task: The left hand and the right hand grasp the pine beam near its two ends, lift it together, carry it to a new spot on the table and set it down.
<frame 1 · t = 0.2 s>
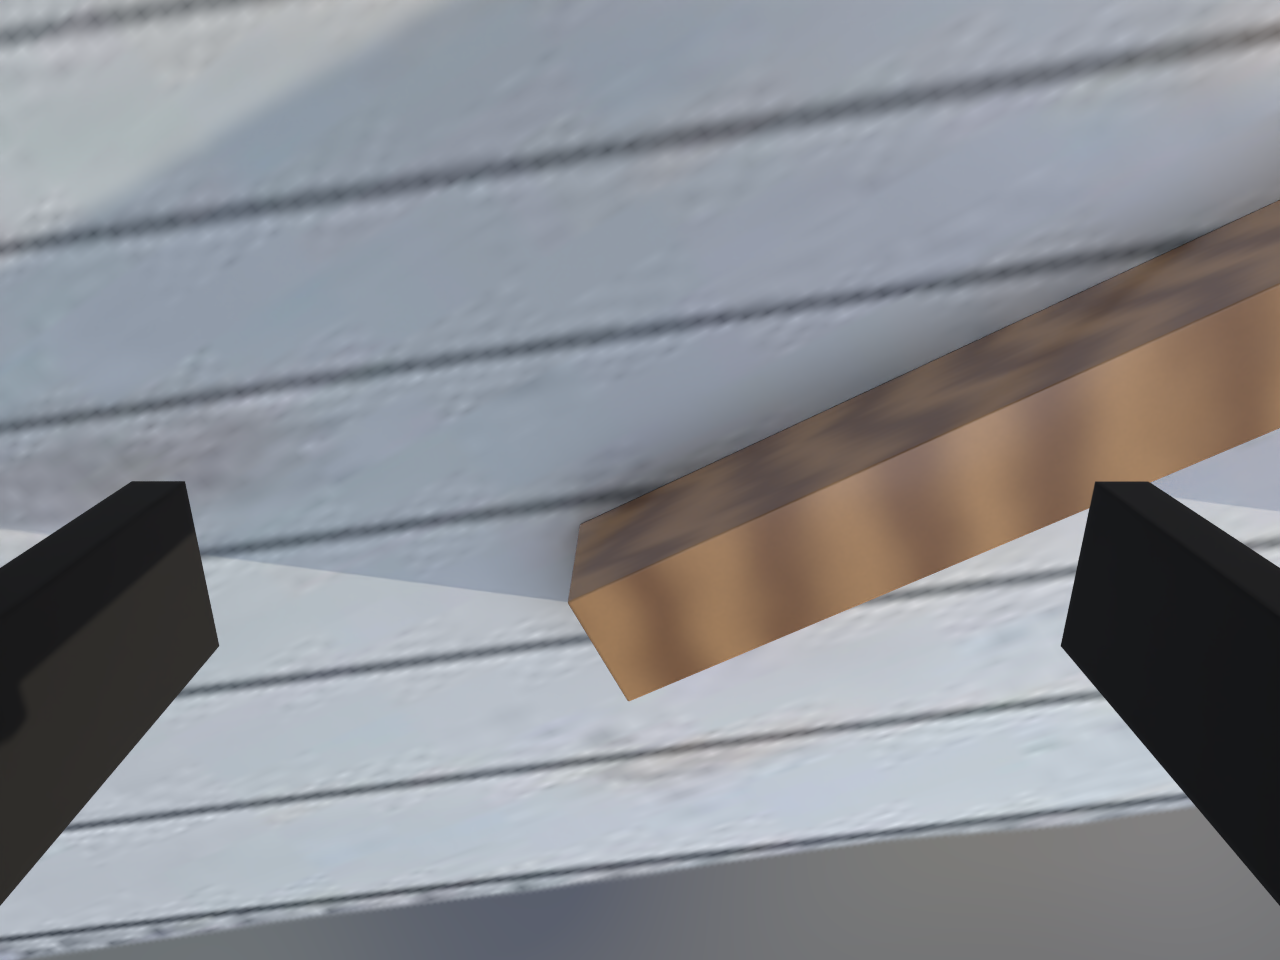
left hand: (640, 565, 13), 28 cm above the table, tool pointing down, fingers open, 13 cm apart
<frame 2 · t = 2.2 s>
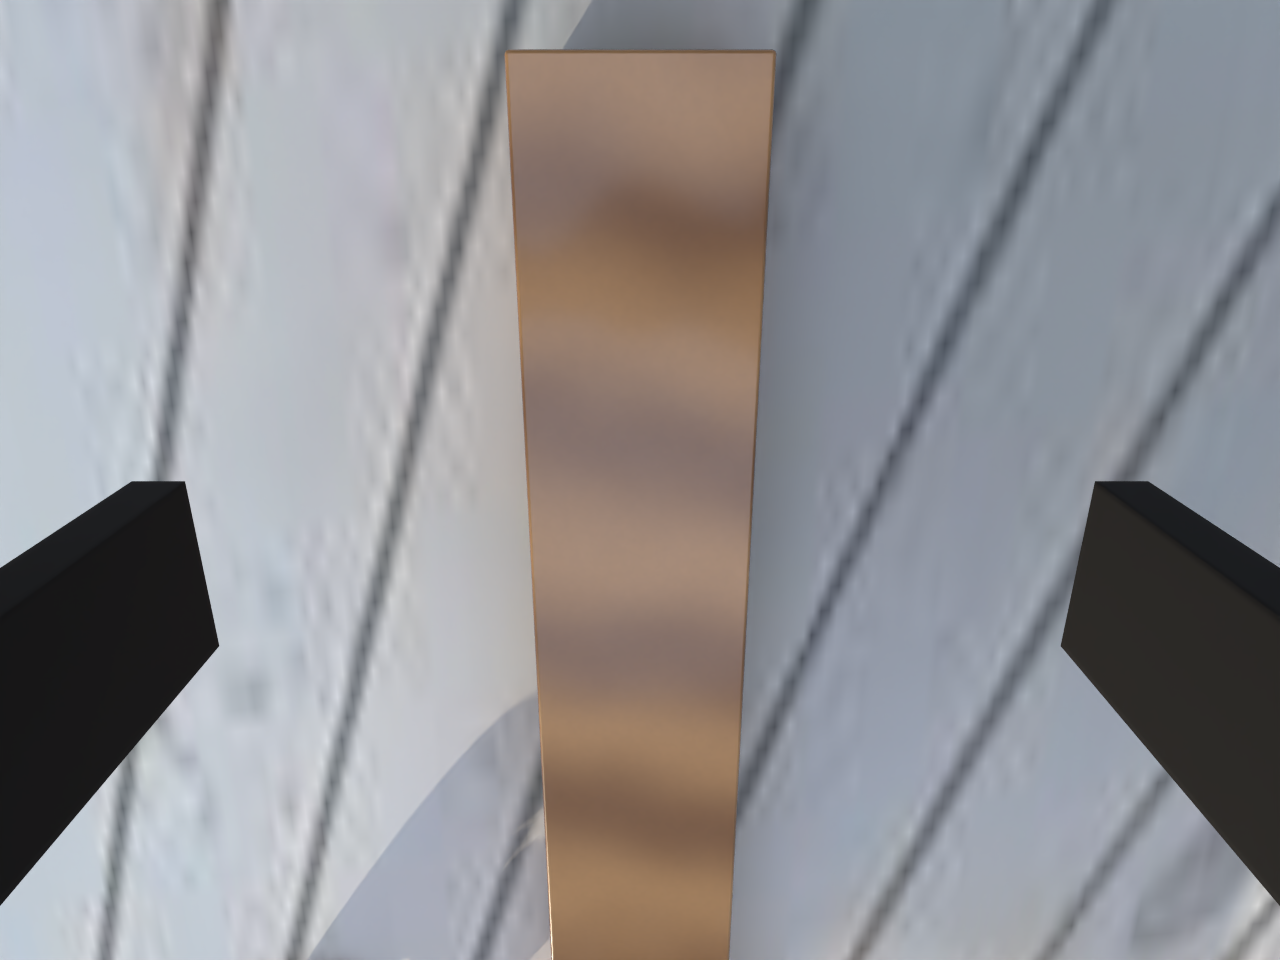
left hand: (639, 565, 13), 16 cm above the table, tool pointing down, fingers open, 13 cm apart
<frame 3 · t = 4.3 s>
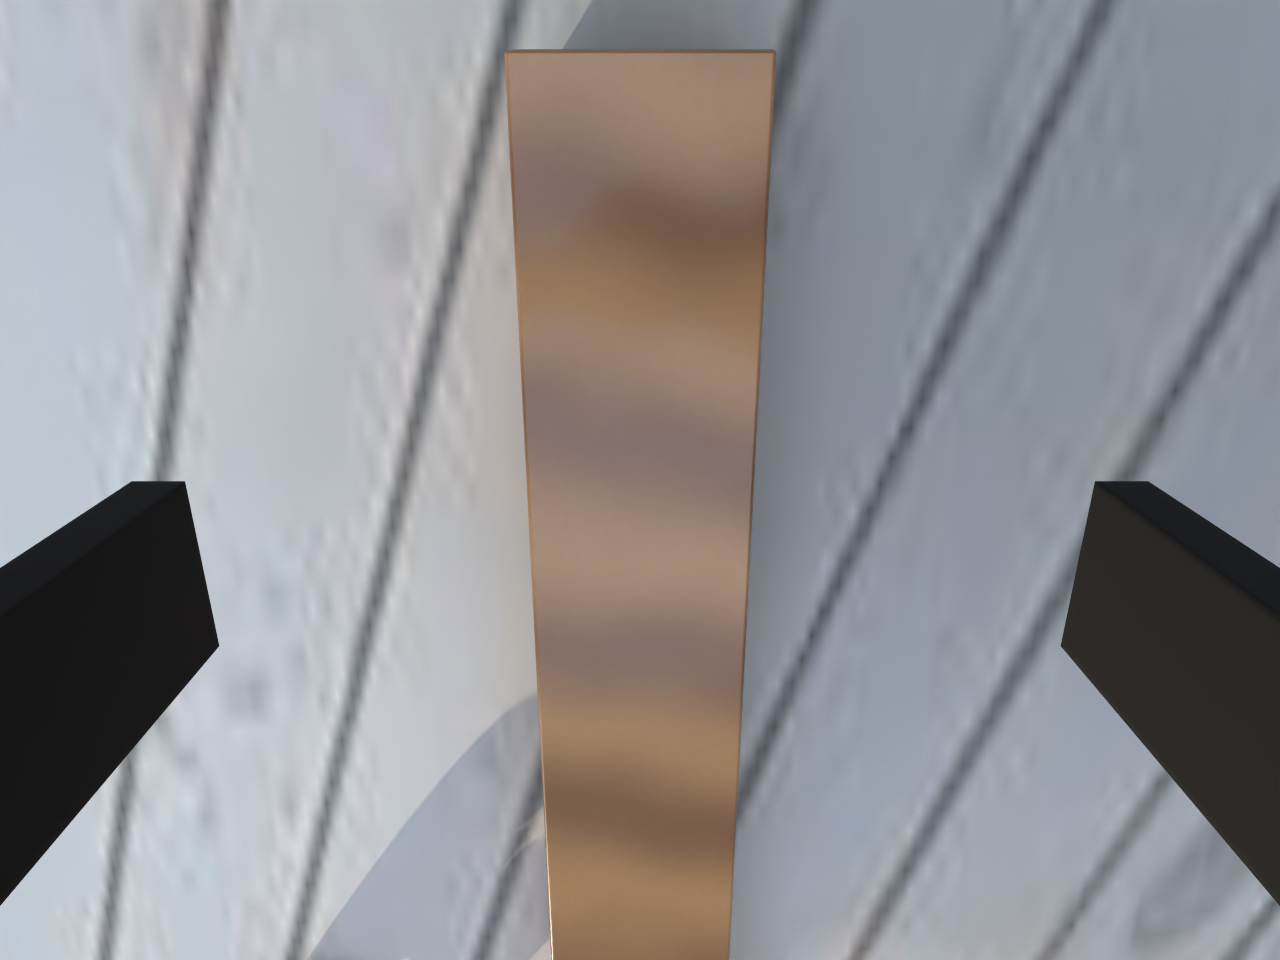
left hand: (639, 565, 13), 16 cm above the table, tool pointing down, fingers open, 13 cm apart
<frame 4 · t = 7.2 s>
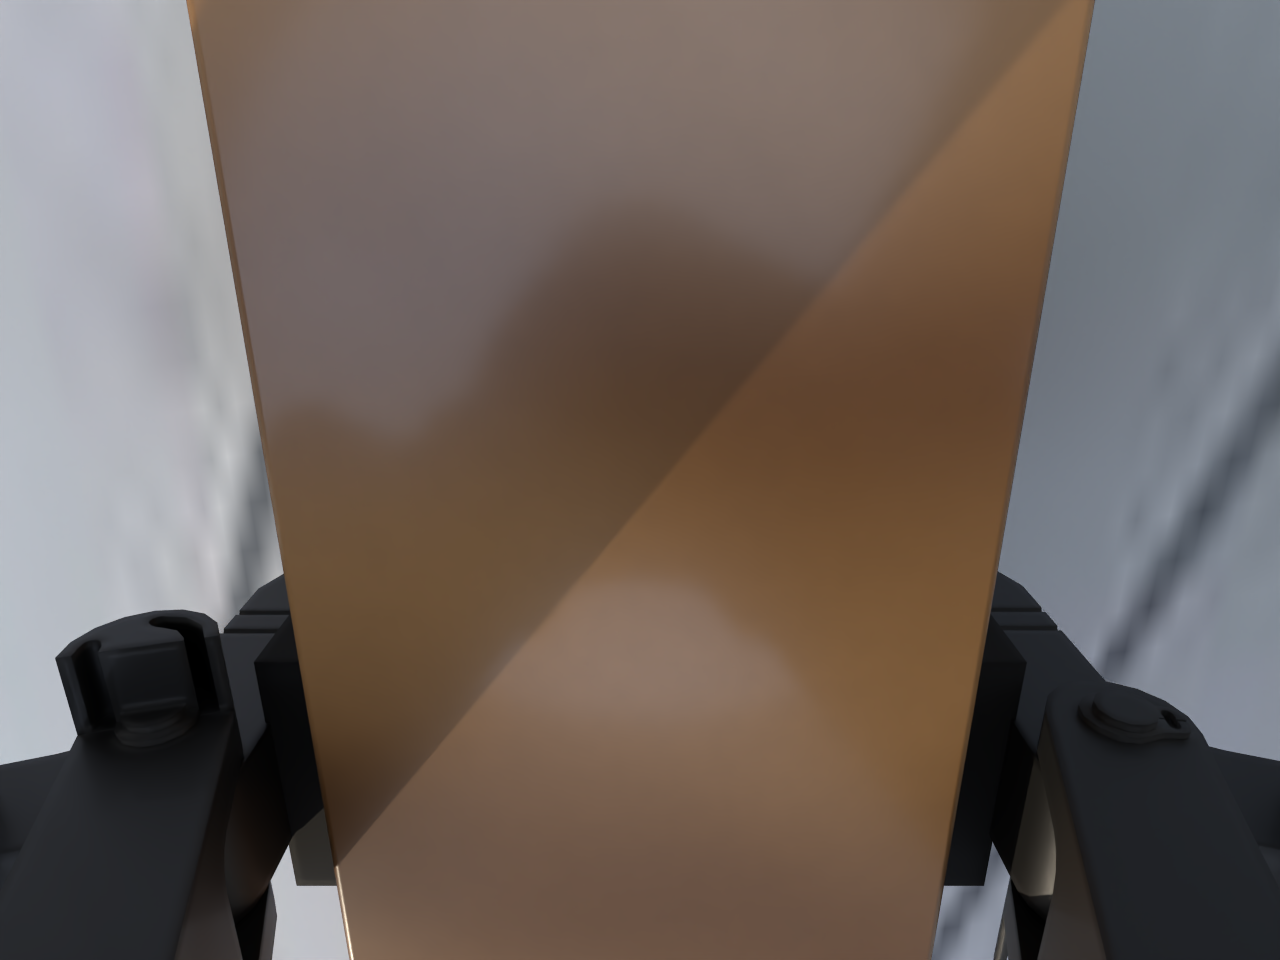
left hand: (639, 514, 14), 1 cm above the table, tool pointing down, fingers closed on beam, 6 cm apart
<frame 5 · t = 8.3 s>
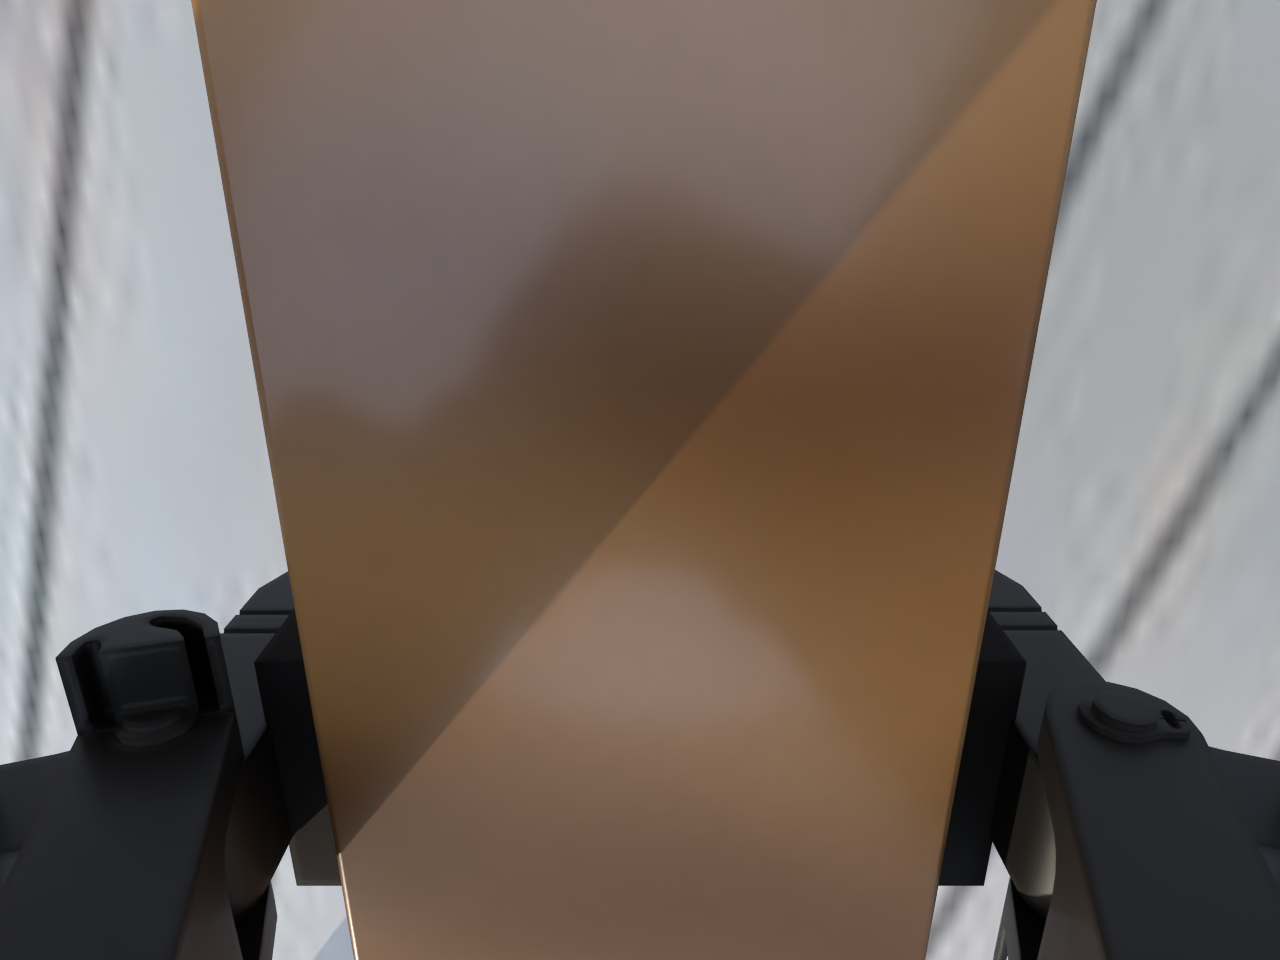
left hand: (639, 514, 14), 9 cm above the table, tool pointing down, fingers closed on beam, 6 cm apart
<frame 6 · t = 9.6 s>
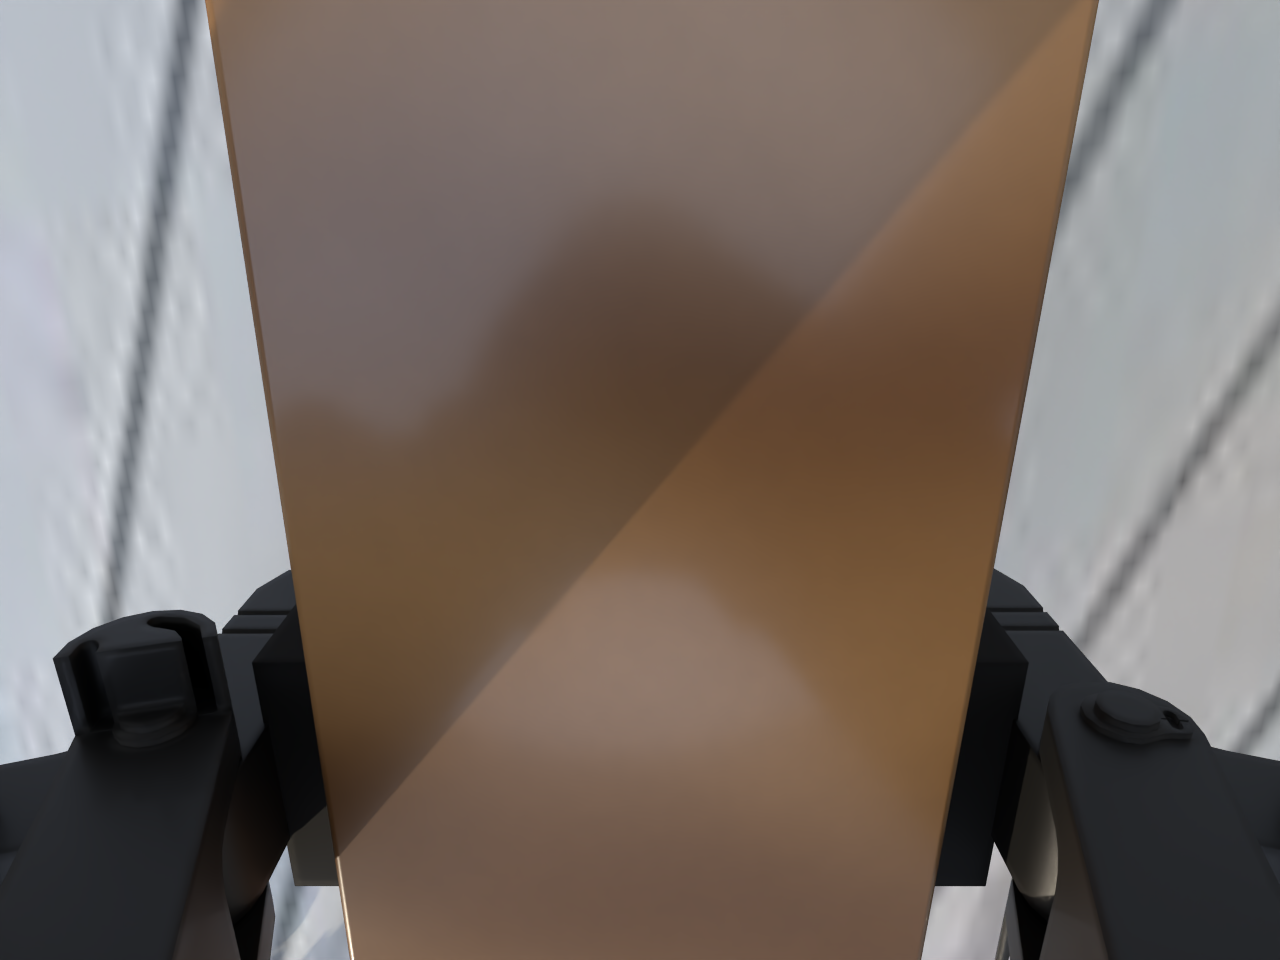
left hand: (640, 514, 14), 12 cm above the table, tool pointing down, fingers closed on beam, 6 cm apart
when the left hand's fingers open (2 cm above the table, at t = 12.3 s): beam stays where it is, on the table.
when the right hand's fingers open (4 cm above the table, at t = 12.4 s): beam stays where it is, on the table.
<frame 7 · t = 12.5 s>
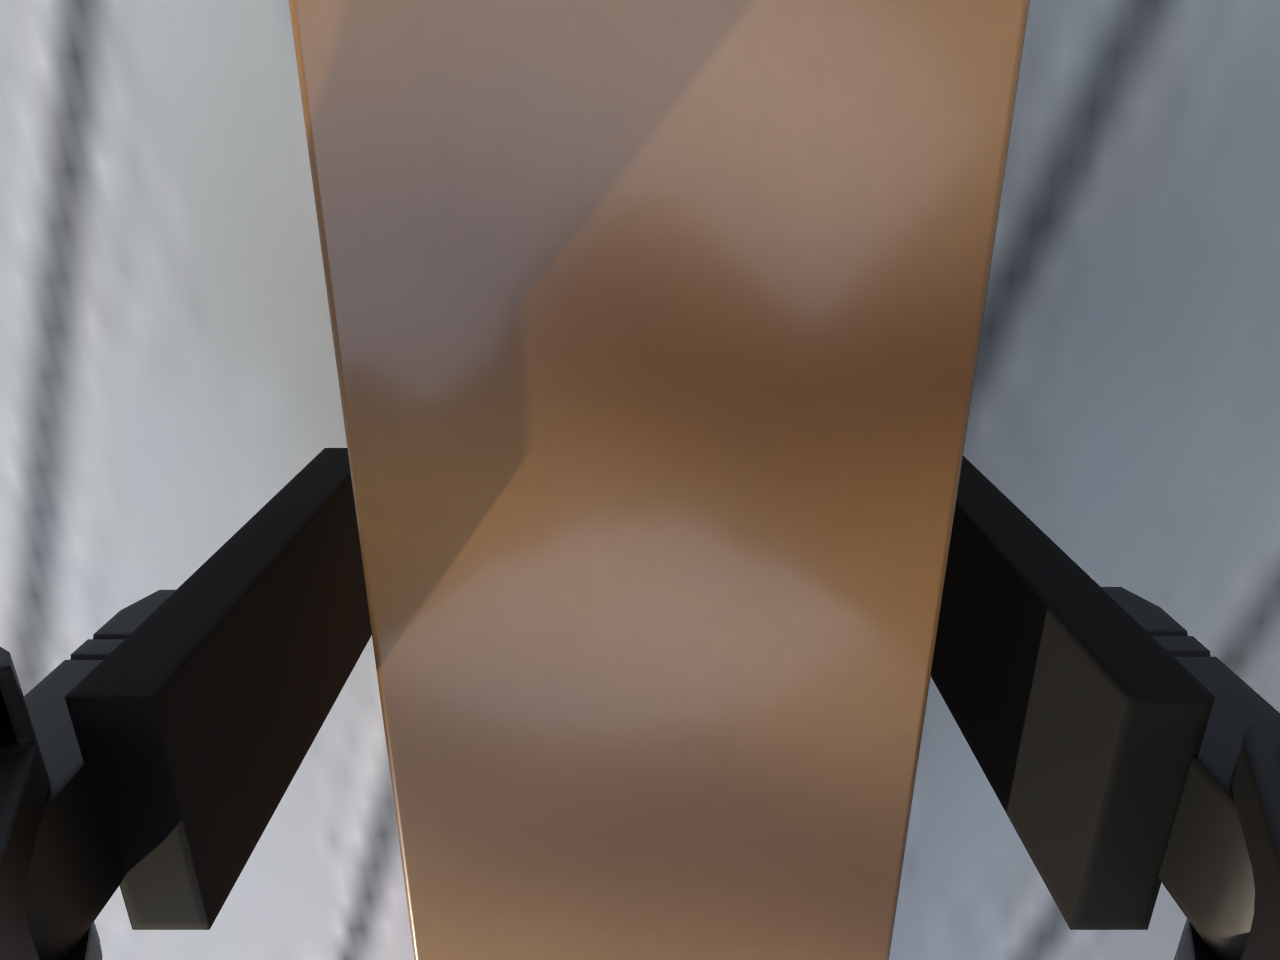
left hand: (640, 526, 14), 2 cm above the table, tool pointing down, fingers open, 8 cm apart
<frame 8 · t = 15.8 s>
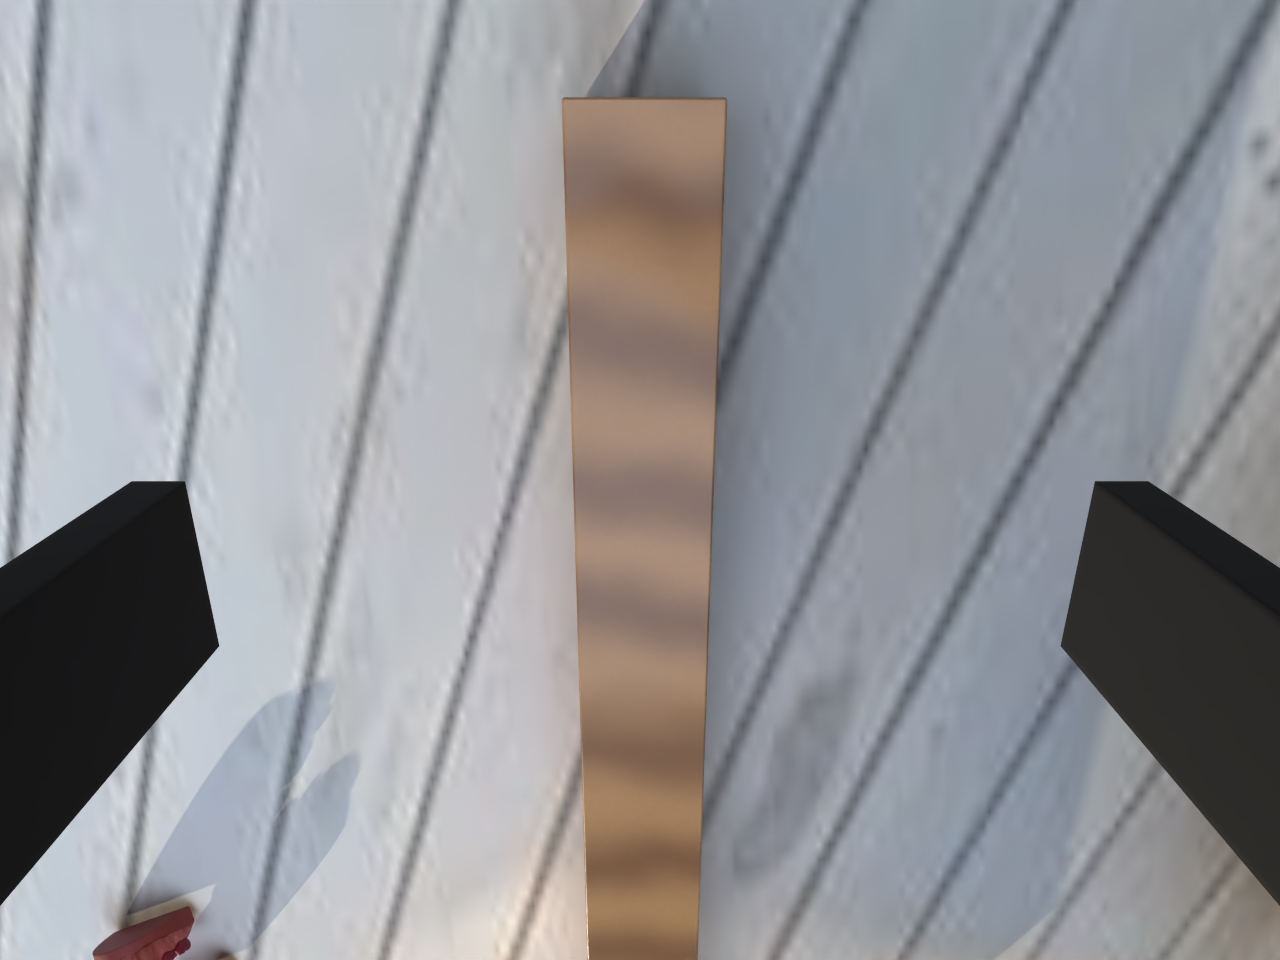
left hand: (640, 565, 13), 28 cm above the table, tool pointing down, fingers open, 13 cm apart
dark red lumpy piece: (178, 945, 54), on the table
beam: (641, 826, 50), on the table
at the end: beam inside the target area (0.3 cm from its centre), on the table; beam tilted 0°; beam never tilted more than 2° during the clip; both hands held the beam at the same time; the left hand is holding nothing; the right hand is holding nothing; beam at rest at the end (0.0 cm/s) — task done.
